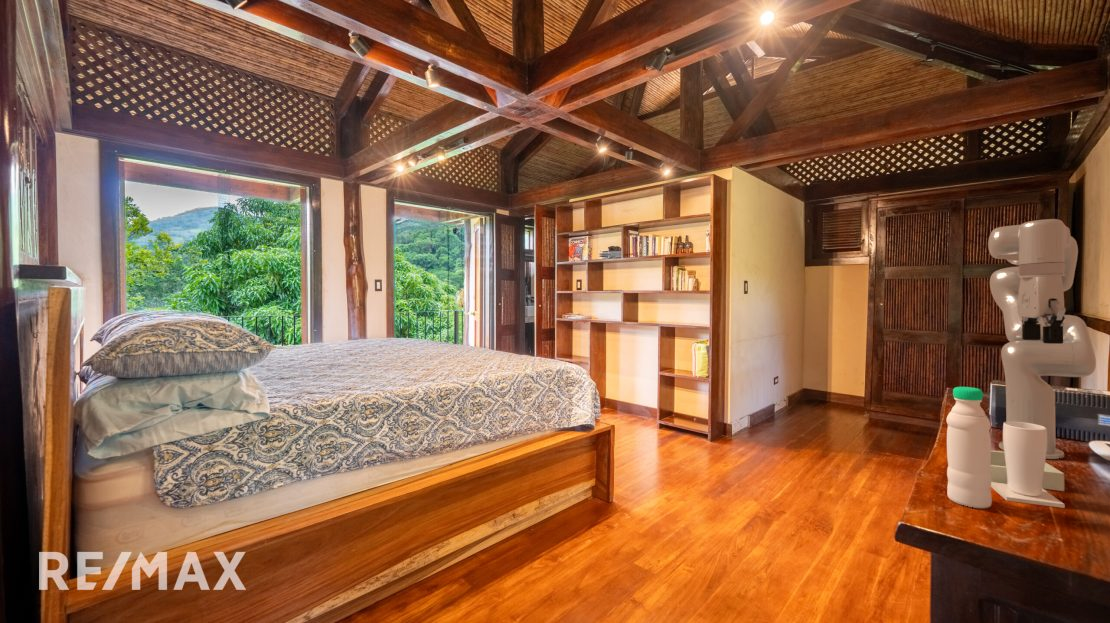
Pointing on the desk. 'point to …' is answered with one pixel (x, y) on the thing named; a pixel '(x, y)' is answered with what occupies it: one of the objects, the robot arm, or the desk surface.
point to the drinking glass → (1025, 456)
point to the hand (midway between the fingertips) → (1041, 341)
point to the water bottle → (968, 450)
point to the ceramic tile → (1043, 499)
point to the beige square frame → (998, 473)
